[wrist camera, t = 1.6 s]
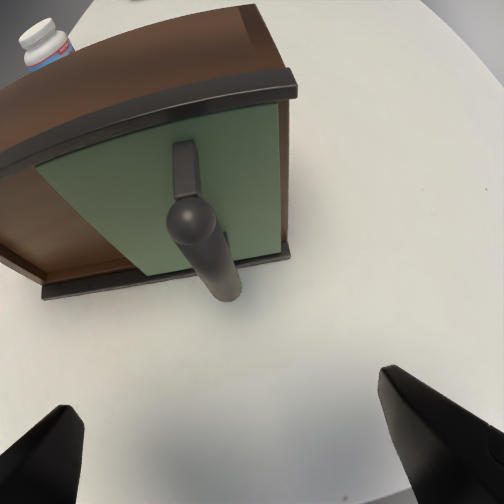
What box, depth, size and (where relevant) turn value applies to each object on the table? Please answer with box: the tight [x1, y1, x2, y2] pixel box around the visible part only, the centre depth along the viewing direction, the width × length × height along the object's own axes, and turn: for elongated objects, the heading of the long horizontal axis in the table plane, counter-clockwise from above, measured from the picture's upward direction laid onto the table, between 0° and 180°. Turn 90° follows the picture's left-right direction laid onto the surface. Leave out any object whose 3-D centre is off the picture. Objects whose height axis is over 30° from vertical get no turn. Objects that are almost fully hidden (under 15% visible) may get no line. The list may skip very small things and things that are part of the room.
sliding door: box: [35, 101, 281, 302], centre depth 15 cm, size 4×9×13 cm, turn 99°
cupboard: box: [0, 4, 298, 300], centre depth 17 cm, size 8×20×14 cm, turn 99°
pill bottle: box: [19, 18, 75, 73], centre depth 28 cm, size 6×6×11 cm
